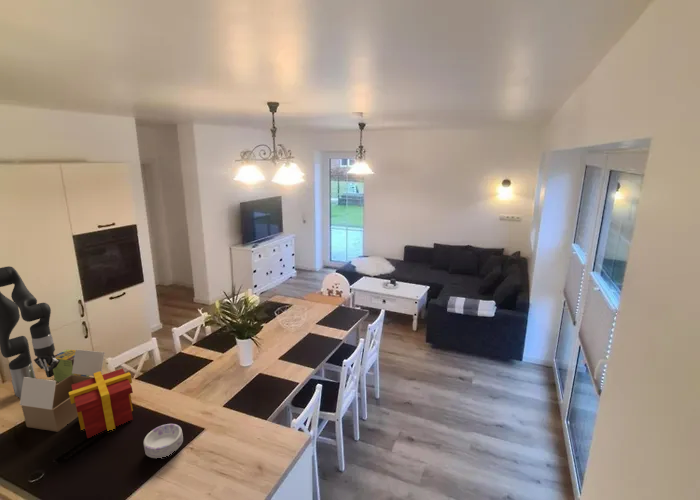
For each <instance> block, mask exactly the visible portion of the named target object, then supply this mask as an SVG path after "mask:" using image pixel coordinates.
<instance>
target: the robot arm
mask: <svg viewBox="0 0 700 500" xmlns="http://www.w3.org/2000/svg"><path fill="white" fill-rule="evenodd" d="M10 285H11V286H12V285H14V286H13V289H12V291H11V299H10V298H8V297H7V296H5V295H4V294H3V293H2V292H1V291H0V354H1V355H2V357H3V358H12V357H15V356H16V357H15V358H14V359H12V360H10V361H9V363H8V369H9V372H10V373H9V374H10V377H11V385H12V388H13V391H14V395H15V397H16V396H17V397H19V398H18V399H21V392H22V385H23V378H24V377H29V378H36V373H35V370H34V366H33V361H34V363H35V364H36V365H37V366H38V367H39V368H40V369H41V370H43V371H45V376H46V377H47V378H52V377H54V372H53V369H54V368H56V367H57V365H58V363H59V362H60V359H56V358H55V355H56V354H55V350H56V347H55V343H54V339H53V336H52V333H51V328H50V319H51V314H52V310H51V309H52V308H51V307H50V304H48V303H47V302H39V303H38V299H37V298H36V297H35V296H34V295H33V293H32V292H30V290H29V289H28V287H27V286H26V284H25V283H24V281H23V279H22V278H21V275H20V274H19V273H18V271H17V270H16V269H15V267H13V266H10V265H9V266H2V267H0V288H2V287H3V288H4V287H7V286H10ZM20 316H21V317H20ZM20 318H21V319H22V320H23V321H25V322H27V323H30V322H33V321H37V320H38V321H37V322H35V323H34V324H33V323H32V324H31V325H30V327H29V333H30V337H31V343H32V344H31V345H32V348H33V353H34V355H35V357H36V358H34V359H33V360H32V356H31V353H30V346H29V341H28V339H27V337H26V336H24V335H20V336H19V335H18V336H16V337H14V338H10V336H11V334H12V332H13V331H14V328H15V327H16V325H17V324H18V322H19V320H20ZM17 397H16V398H17Z"/></svg>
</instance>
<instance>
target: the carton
mask: <svg viewBox="0 0 700 500" xmlns="http://www.w3.org/2000/svg"><path fill="white" fill-rule="evenodd" d="M91 378H94V376H89V377H85V376H77V375H70V376H69V377H67V378H65V379H64V380H62V381H60V382H56V386H55V393H54V401H53V408H52V409H44V408H37V407H30V406H23V405H20V406H21V409H22V414H23V417H24V421H25V425H26V427H27V428H30V429H31V428H32V429H39V430H43V431H44V430H46V431H51V432H56V433H58V432H60V431H61V430H63V429H64V428H65V427H66V426H68V425H69V424H70V423H72V422H73V421H75V419H77V418H78V414H77V409H76V404H75V403H73V404H71V401H70V397H69V392H70V391H73V390H72V386H71V385H72V384H75V383H78V382H82V381H85V380H88V379H91ZM67 424H68V425H67Z"/></svg>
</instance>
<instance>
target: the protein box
mask: <svg viewBox="0 0 700 500" xmlns="http://www.w3.org/2000/svg"><path fill="white" fill-rule="evenodd" d="M75 351H76V349H64V350H63V351H60V352H59V353H57V354H54V355H55V358H56V359H60V362H59V363H58V365H57V367H56V368H54V369H53V372H54V375H53V379H54V381H56V383H59V382H60V381H62V380H64V379H65V378H67V377H69V376H70V375H77V376H85V377H90V376H89V375H81V374H72V369H73V363H74V357H75Z"/></svg>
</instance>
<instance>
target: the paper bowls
mask: <svg viewBox="0 0 700 500" xmlns="http://www.w3.org/2000/svg"><path fill="white" fill-rule="evenodd" d="M183 435H184V434H183V430H182V427H181V426H180V425H178V424H176V423H167V424H166V423H165V424H162V425H159V426H157V427H155V428H153V429H151V431H150V432H148V433H147V434H146V436H145V437H144V439H143V448H144V452H145V455H146V456H147V457H149V458H151V459H157V458H161V459H163V458H162V457H166V456H168V457H170V456H171V455H173V454H174V453H175V452H176V451H177V450H178V449H179V448H180V447H181V446H182V444H183V442H184V436H183ZM174 451H175V452H174ZM173 452H174V453H173ZM172 453H173V454H172ZM170 454H171V455H170ZM169 455H170V456H169ZM166 458H167V457H166Z"/></svg>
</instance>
